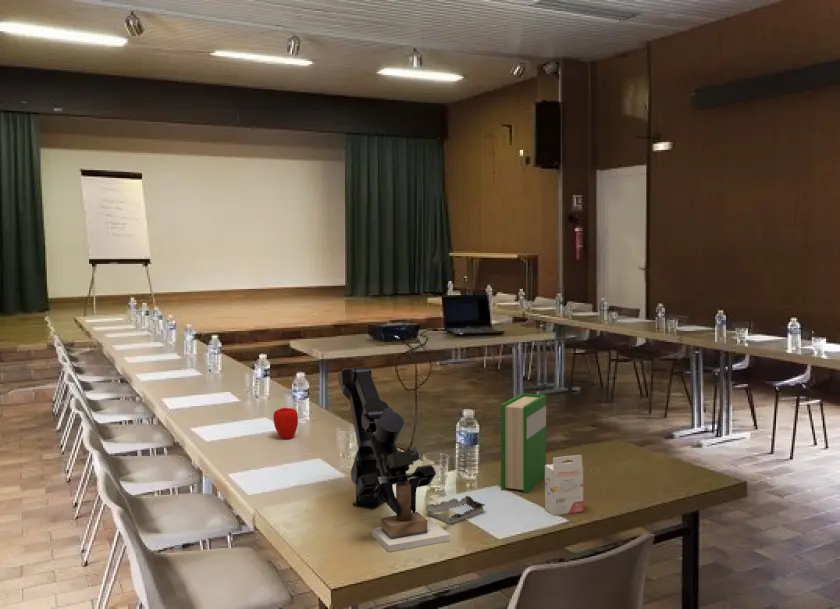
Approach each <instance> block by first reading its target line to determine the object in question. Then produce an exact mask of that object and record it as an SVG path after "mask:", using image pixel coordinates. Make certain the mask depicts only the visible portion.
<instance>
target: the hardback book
mask: <svg viewBox="0 0 840 609" xmlns="http://www.w3.org/2000/svg"><path fill="white" fill-rule="evenodd" d="M545 465H547V394H546V395H545V394H535V393H524V392H523V393H519V394H518V395H516V396H514V397H513V398H511V399H509V400H506V401H505V402H503V403H501V404H500V490H501V491H503V490H504V491H506V490H507V489H513V490H520V491H523V494H524V493H525V494H526V495H528V494H529V493H530V492H531V490H533V489H534V488H535V487H536V486H537V485H538V484H539V483H540V482H541V481H542V480H543V479H544V478H543V477H544V476H545ZM542 478H543V479H542ZM541 479H542V480H541ZM540 480H541V481H540ZM539 481H540V482H539ZM538 482H539V483H538ZM537 483H538V484H537ZM536 484H537V485H536ZM535 485H536V486H535ZM534 486H535V487H534ZM533 487H534V488H533ZM532 488H533V489H532ZM505 489H506V490H505Z"/></svg>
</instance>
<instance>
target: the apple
mask: <svg viewBox="0 0 840 609" xmlns="http://www.w3.org/2000/svg"><path fill="white" fill-rule="evenodd" d="M298 415H299V413H298V411H297V410H296V409H295V408H291V407H281V408H279V409H277V410H274V411H273V425H274V428H275V431H276V433H277V434H278V436H279V438H281V439H284V440H291V439H293V438H294V436H296V435H295V434H296V432H297V429H298V424H299V416H298Z"/></svg>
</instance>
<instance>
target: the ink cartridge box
mask: <svg viewBox="0 0 840 609" xmlns="http://www.w3.org/2000/svg"><path fill="white" fill-rule="evenodd" d="M567 460H569V461H571V462H566V461H567ZM544 495H545V496H544V499H545V500H544V501H545V503H544V507H545V508H544V509H545V510H546V511H547V512H548V513H550V514H551V515H552V516H561V515H568V514H573V513H582V512H584V466H583V456H582V454H577V455H566V456H564V455H563V456H558V457H555V456H554V457H553V458H552V464H551V463H550V464H546V465H545V478H544Z"/></svg>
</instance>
